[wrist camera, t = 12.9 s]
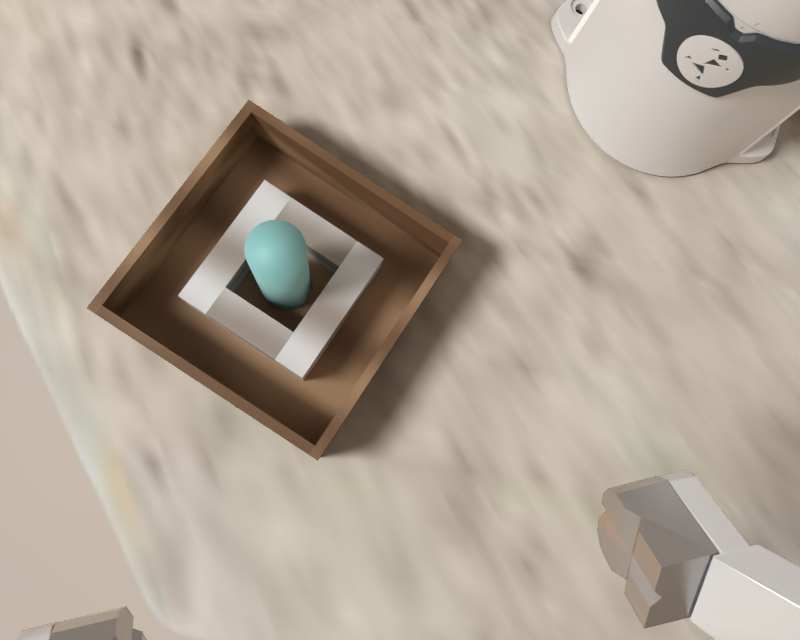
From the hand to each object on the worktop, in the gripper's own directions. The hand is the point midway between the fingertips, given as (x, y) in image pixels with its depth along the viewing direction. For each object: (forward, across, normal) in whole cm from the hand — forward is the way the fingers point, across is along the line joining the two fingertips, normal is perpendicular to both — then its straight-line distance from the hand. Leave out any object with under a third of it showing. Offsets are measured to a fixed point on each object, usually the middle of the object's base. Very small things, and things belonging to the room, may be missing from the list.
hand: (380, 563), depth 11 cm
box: (+31, +1, +14) cm, 34 cm away
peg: (+30, +1, +13) cm, 33 cm away
